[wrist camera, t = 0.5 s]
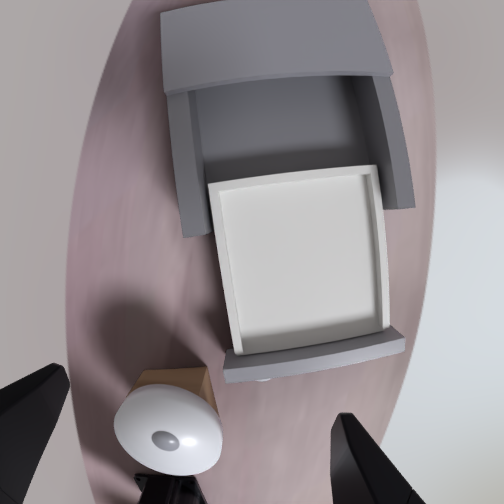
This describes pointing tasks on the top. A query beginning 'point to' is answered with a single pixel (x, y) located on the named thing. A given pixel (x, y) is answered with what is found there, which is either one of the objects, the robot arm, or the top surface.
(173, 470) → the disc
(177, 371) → the block
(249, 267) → the tray
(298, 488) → the top surface
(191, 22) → the player housing
